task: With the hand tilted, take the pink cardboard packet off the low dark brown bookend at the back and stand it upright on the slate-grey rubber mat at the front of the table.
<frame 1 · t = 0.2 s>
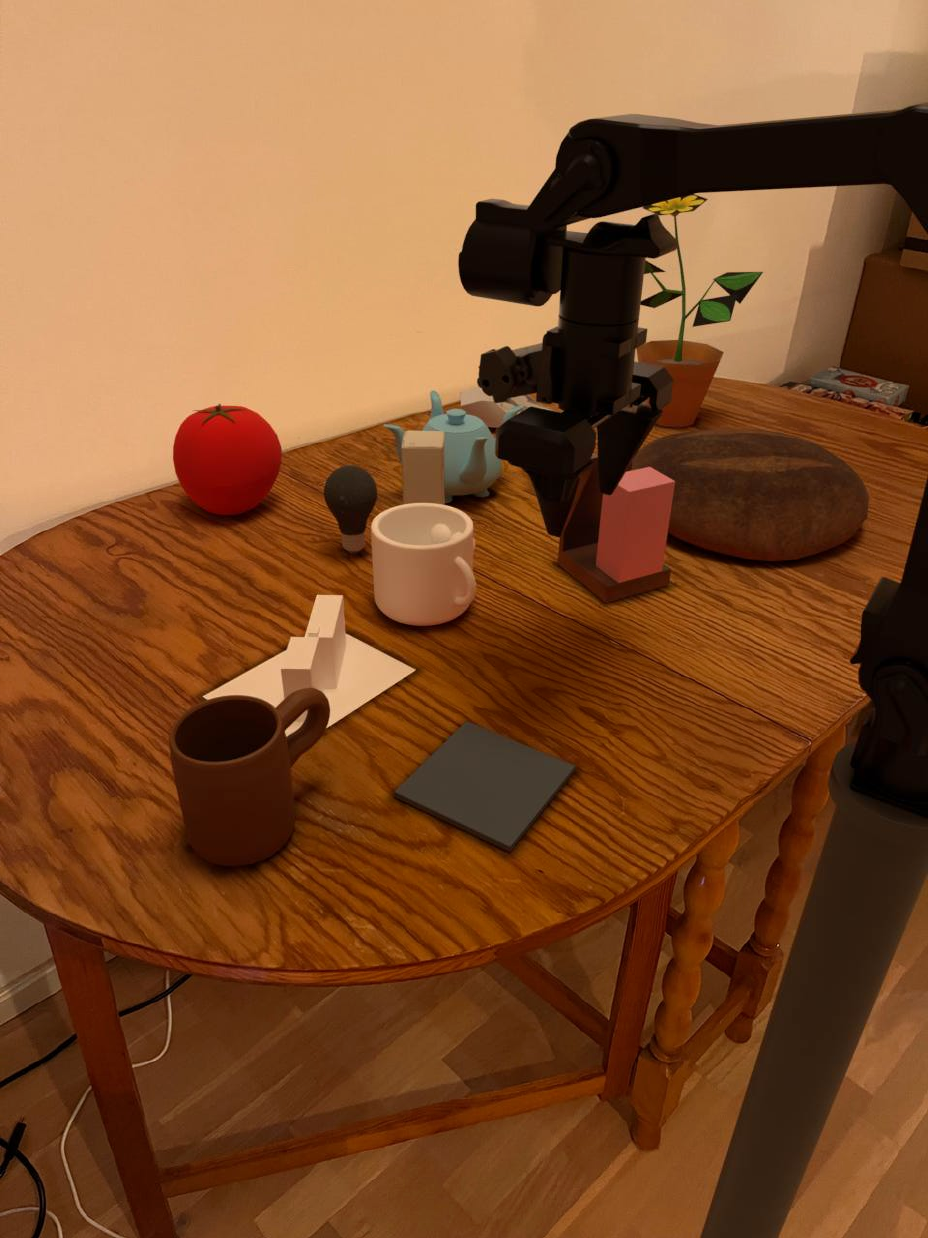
hand: (581, 513, 74), 16 cm above the table, tool pointing down, fingers open, 9 cm apart
dark brown bookend: (612, 574, 97), on the table
bread: (739, 512, 110), on the table
napkin holder: (311, 684, 80), on the table
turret: (521, 427, 134), on the table
mug: (269, 817, 66), on the table
tomato: (235, 508, 110), on the table
packet: (628, 568, 94), point 2 cm above the table, touching dark brown bookend
potted plant: (669, 420, 137), on the table
mat: (486, 784, 69), on the table
mug 2: (433, 611, 91), on the table
teapot: (454, 490, 115), on the table
light bulb: (354, 553, 100), on the table
box: (425, 550, 101), on the table
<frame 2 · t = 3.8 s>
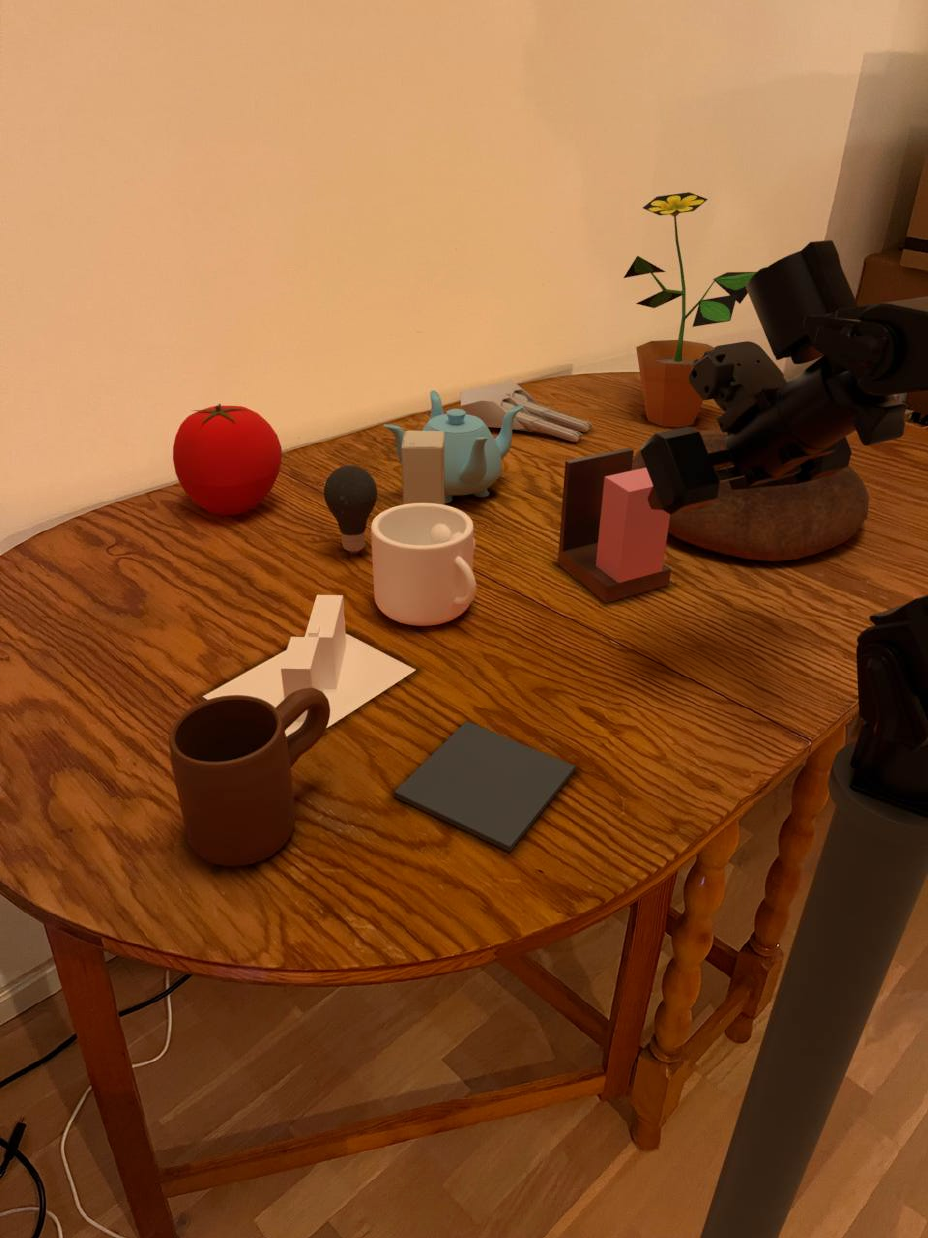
hand: (691, 493, 82), 13 cm above the table, tool tilted 45°, fingers open, 9 cm apart
nothing on the table moved.
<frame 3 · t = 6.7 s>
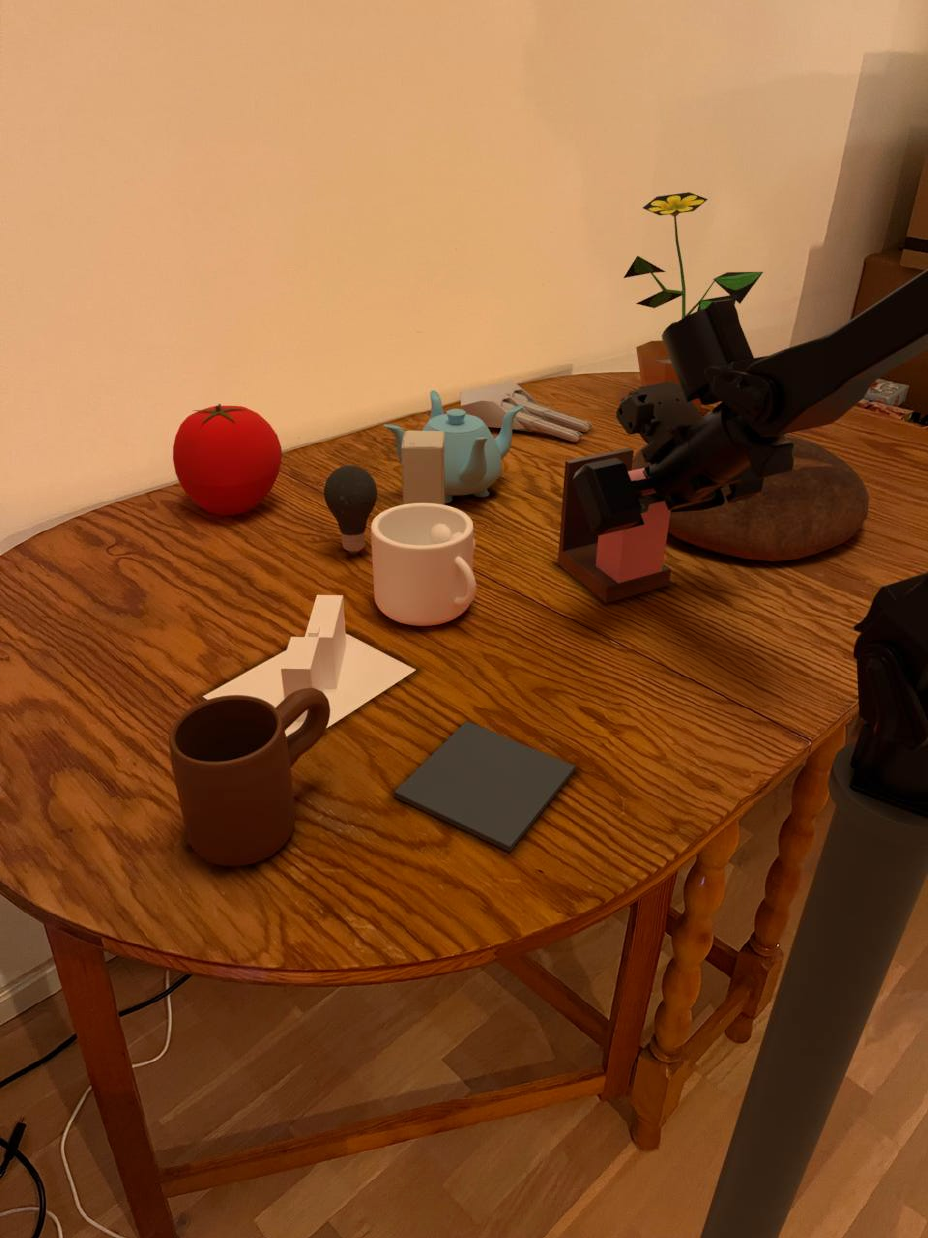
hand: (626, 514, 92), 8 cm above the table, tool tilted 45°, fingers closed on packet, 5 cm apart
packet: (628, 568, 94), point 2 cm above the table, touching gripper, dark brown bookend
everything else where it was.
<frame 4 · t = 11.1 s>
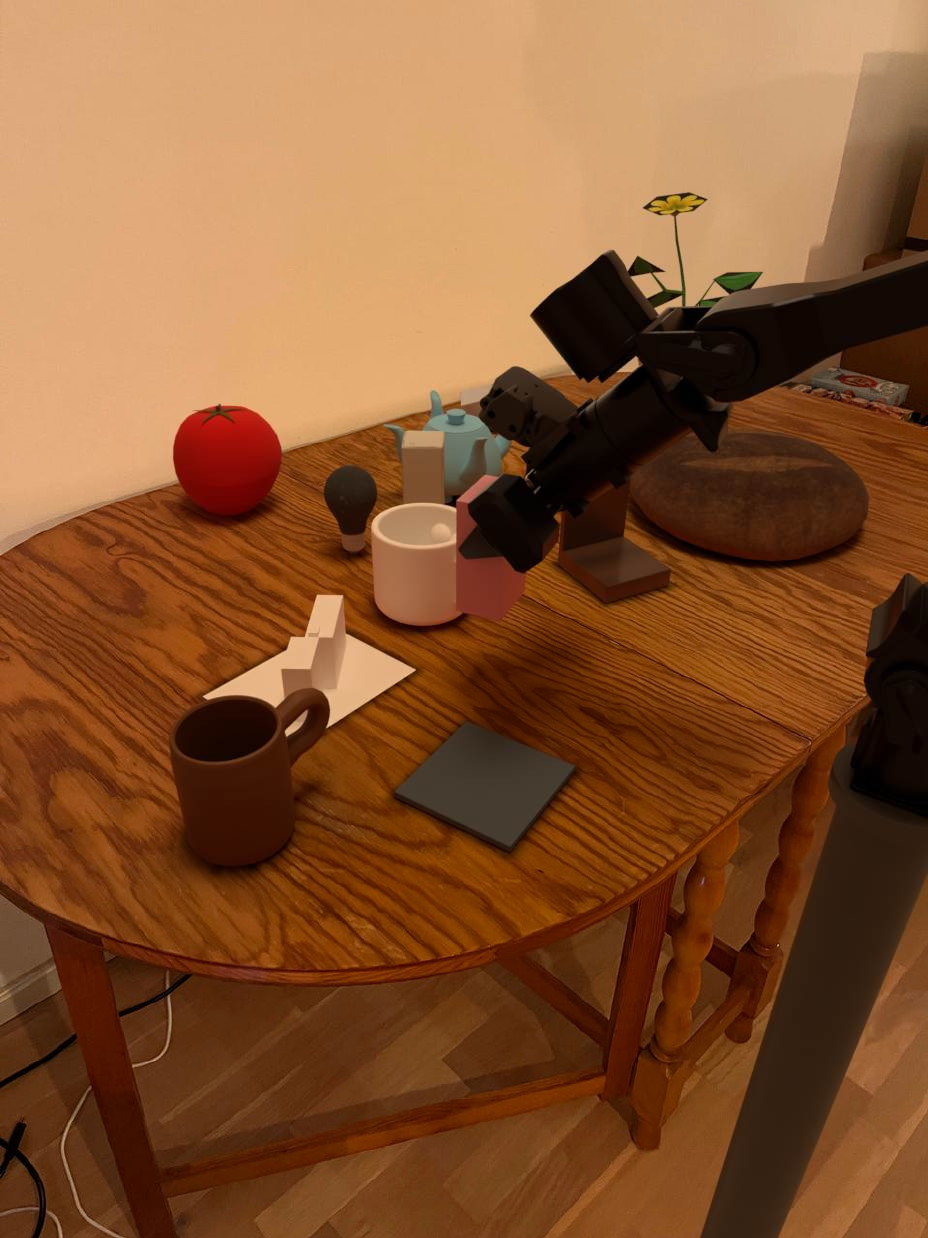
hand: (477, 538, 74), 14 cm above the table, tool tilted 45°, fingers closed on packet, 5 cm apart
packet: (490, 600, 77), point 8 cm above the table, touching gripper
everything else where it was.
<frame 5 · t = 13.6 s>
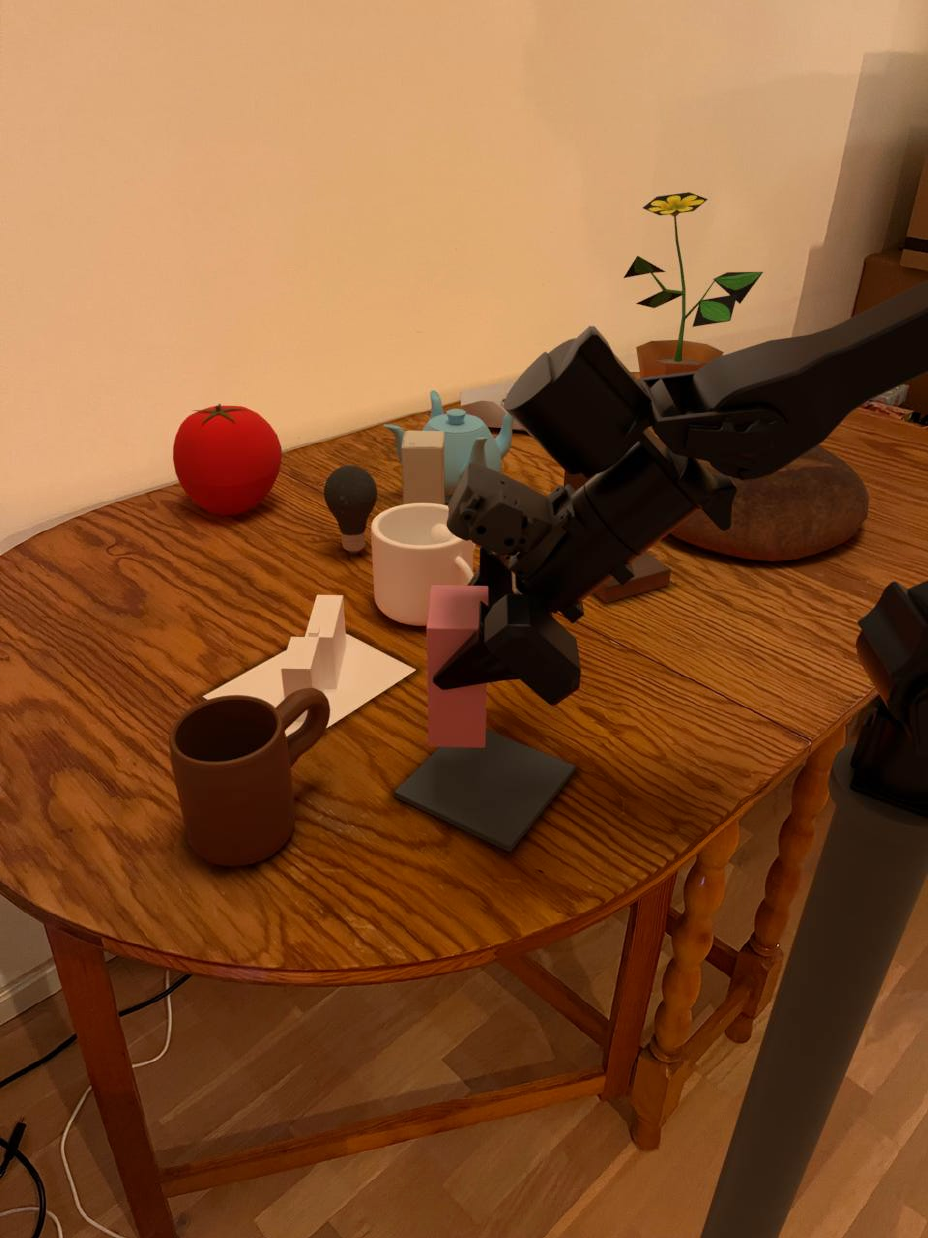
hand: (439, 659, 63), 11 cm above the table, tool tilted 45°, fingers closed on packet, 5 cm apart
packet: (457, 722, 66), point 6 cm above the table, touching gripper
everything else where it was.
when the fingers open (6 cm above the table, at t = 15.6 s): packet stays where it is, resting on mat.
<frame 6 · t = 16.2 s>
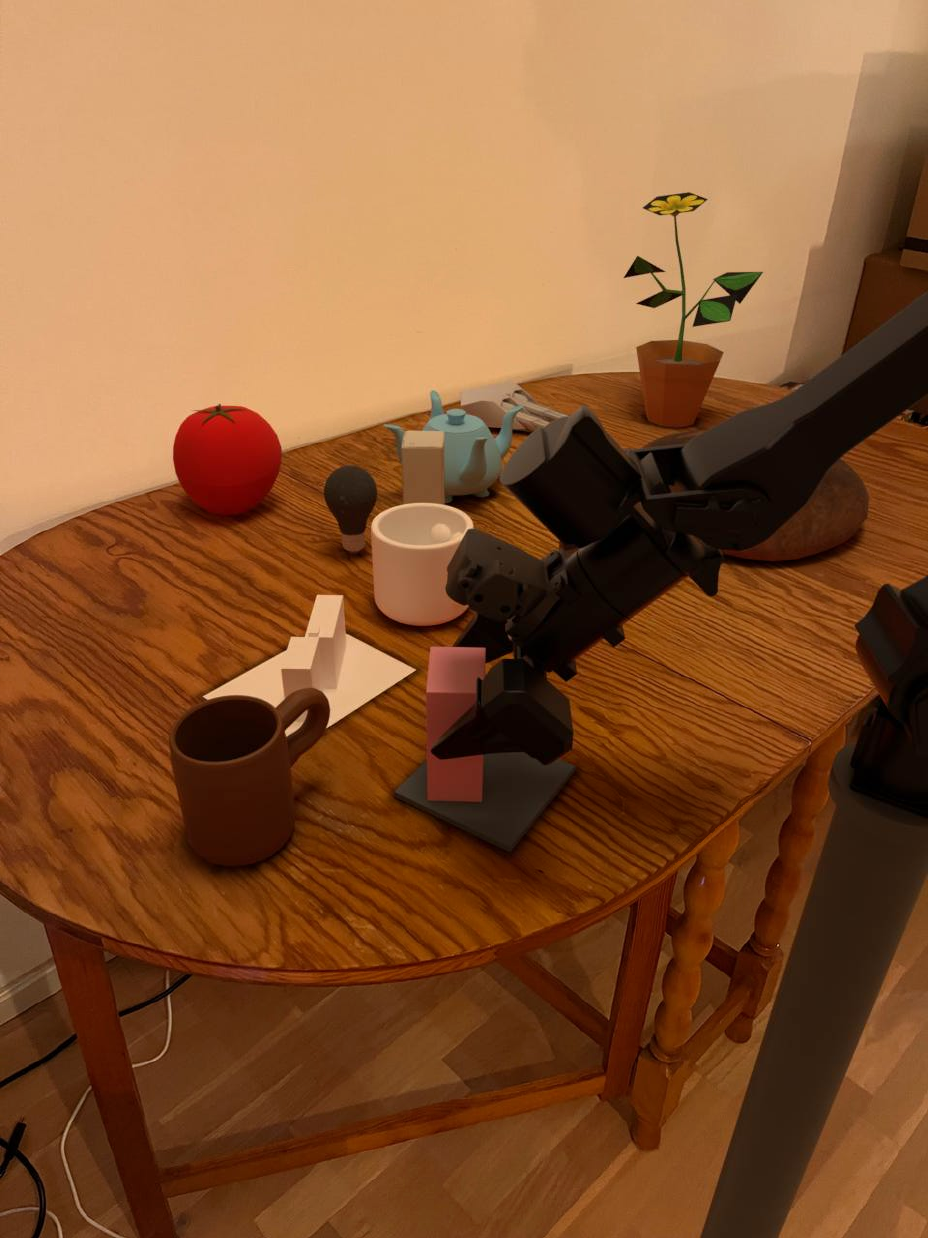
hand: (438, 712, 66), 7 cm above the table, tool tilted 45°, fingers open, 9 cm apart
packet: (455, 776, 69), point 1 cm above the table, touching mat
everything else where it was.
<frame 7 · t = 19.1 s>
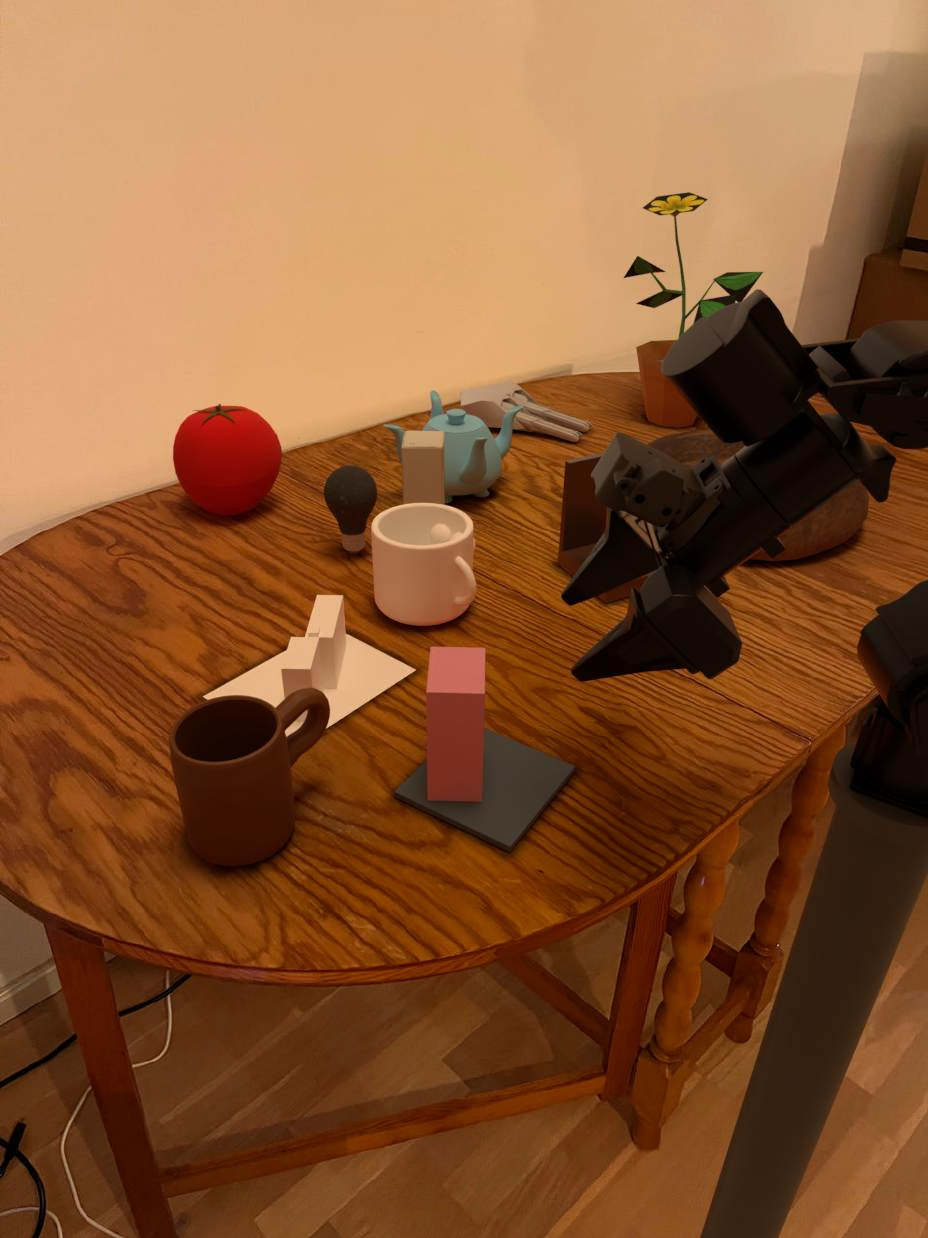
hand: (569, 636, 62), 14 cm above the table, tool tilted 45°, fingers open, 9 cm apart
nothing on the table moved.
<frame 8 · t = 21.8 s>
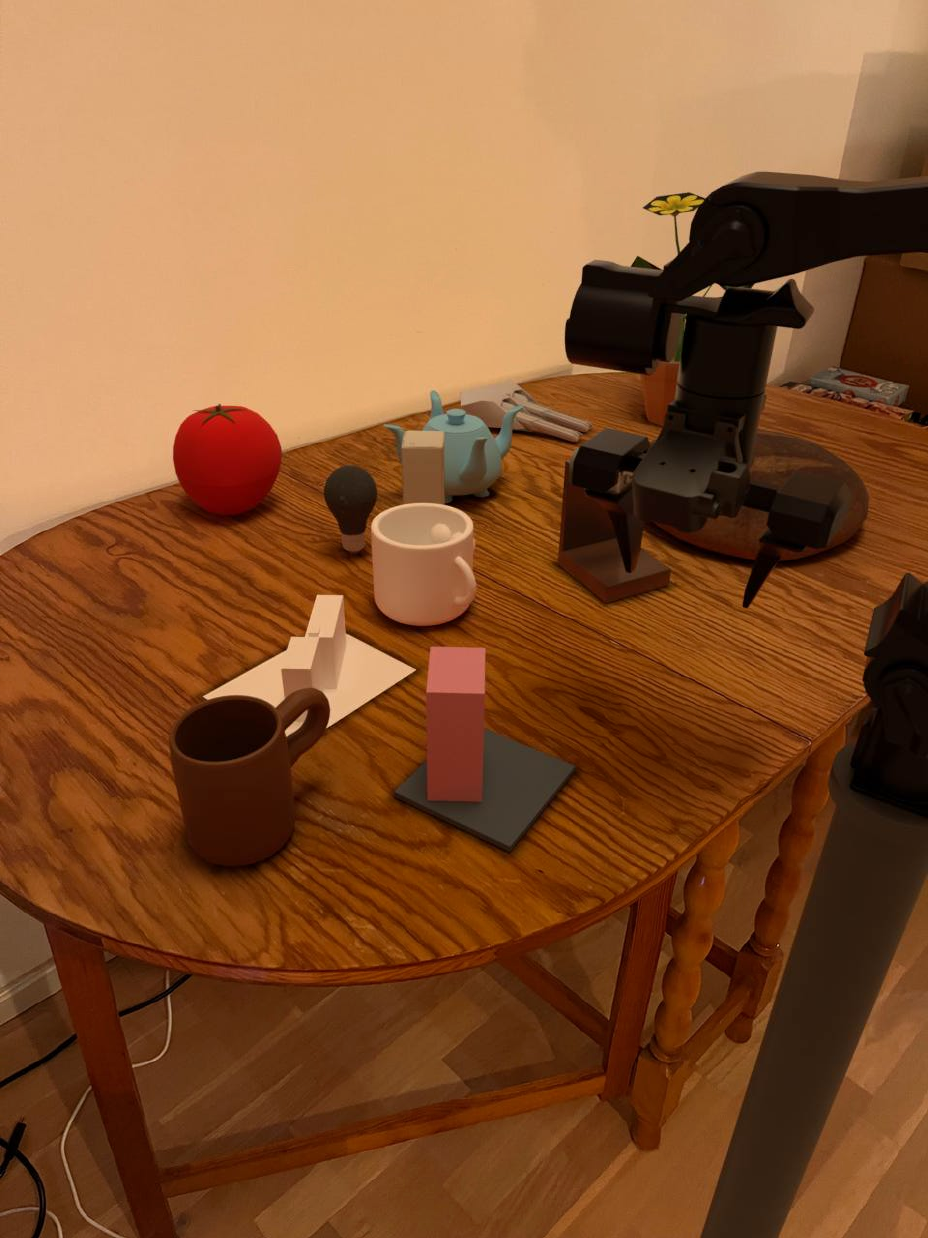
hand: (686, 587, 69), 13 cm above the table, tool pointing down, fingers open, 9 cm apart
nothing on the table moved.
at the end: packet inside the target area on the mat (2.4 cm from its centre), point 0.6 cm above the mat's base; packet tilted 0°; the gripper is holding nothing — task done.
